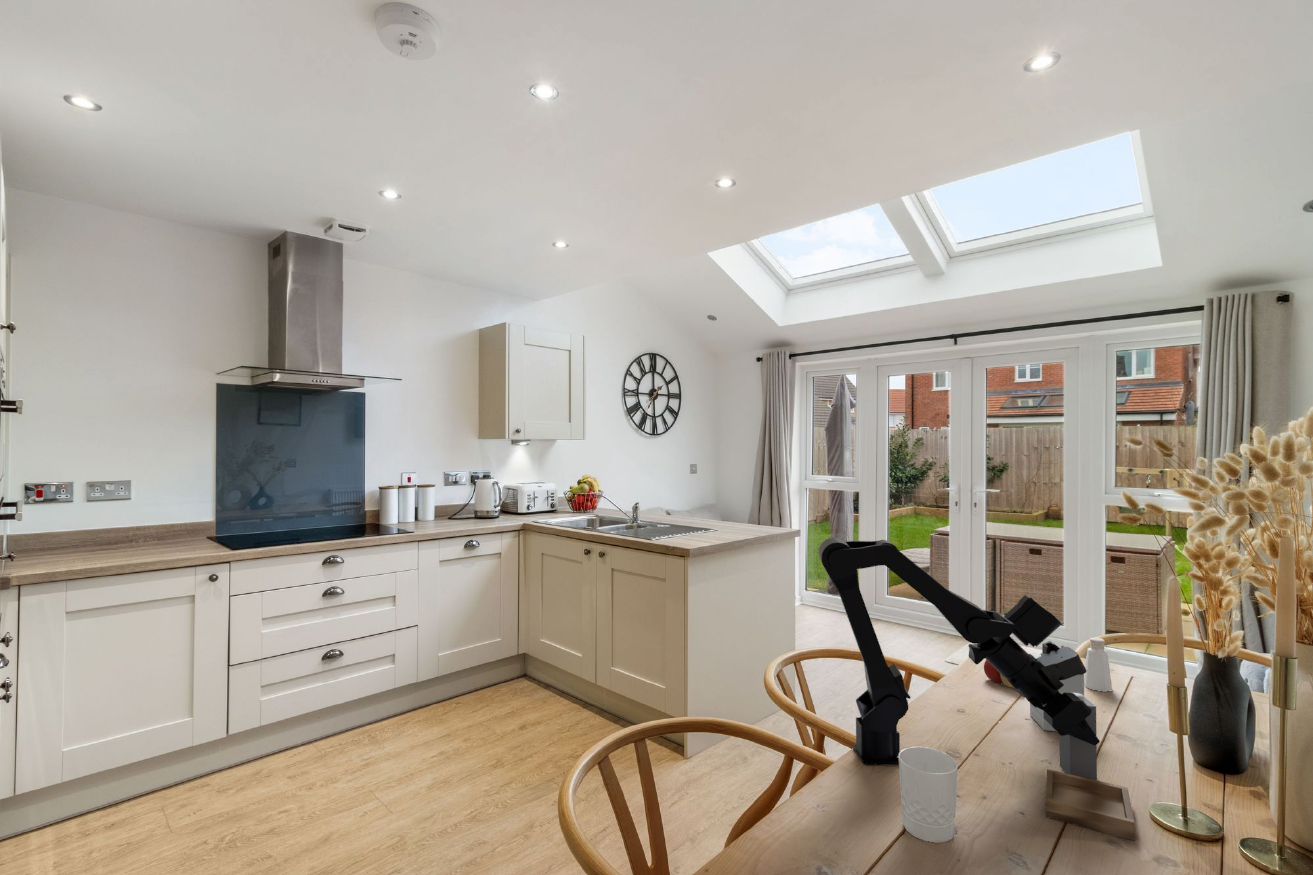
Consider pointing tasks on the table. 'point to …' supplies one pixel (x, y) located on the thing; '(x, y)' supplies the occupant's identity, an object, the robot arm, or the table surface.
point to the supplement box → (1070, 686)
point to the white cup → (928, 793)
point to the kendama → (995, 674)
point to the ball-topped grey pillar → (1079, 749)
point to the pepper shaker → (1097, 667)
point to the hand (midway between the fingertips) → (1086, 733)
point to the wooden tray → (1089, 804)
